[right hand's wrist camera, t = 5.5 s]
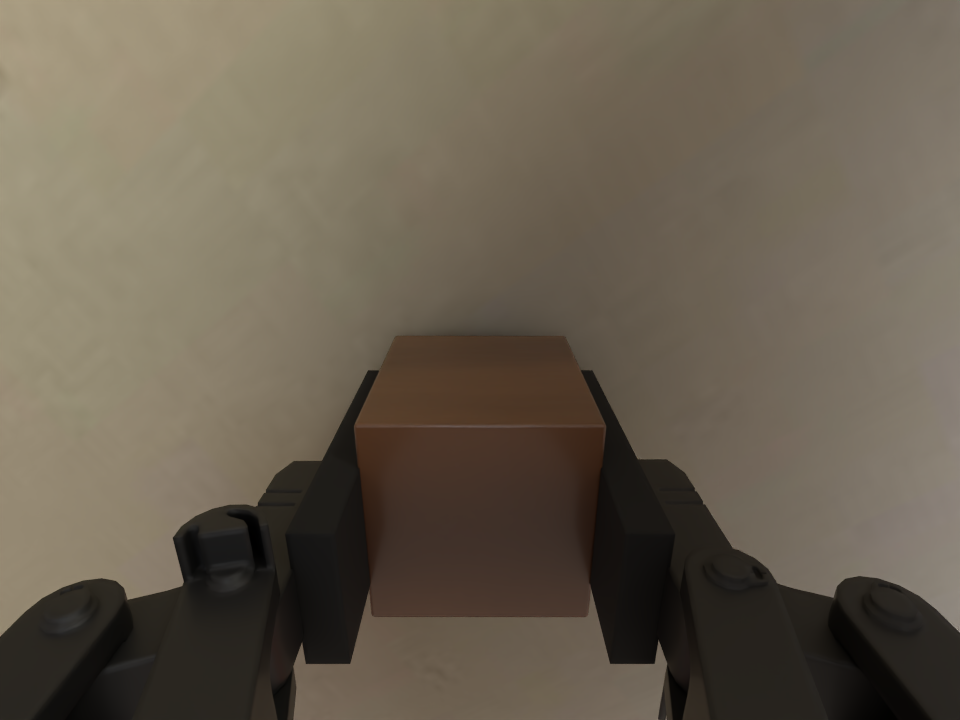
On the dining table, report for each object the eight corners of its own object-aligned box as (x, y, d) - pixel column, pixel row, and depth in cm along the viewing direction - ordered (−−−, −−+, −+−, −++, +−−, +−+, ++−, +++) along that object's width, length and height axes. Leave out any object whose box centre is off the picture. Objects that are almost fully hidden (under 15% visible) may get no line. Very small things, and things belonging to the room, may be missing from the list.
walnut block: (394, 334, 14) (352, 424, 9) (565, 334, 14) (608, 425, 9) (403, 480, 16) (370, 618, 11) (556, 481, 16) (588, 618, 11)
